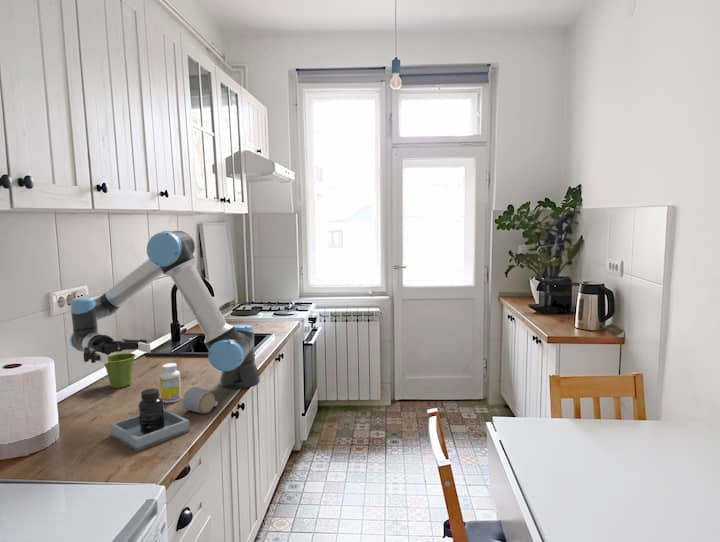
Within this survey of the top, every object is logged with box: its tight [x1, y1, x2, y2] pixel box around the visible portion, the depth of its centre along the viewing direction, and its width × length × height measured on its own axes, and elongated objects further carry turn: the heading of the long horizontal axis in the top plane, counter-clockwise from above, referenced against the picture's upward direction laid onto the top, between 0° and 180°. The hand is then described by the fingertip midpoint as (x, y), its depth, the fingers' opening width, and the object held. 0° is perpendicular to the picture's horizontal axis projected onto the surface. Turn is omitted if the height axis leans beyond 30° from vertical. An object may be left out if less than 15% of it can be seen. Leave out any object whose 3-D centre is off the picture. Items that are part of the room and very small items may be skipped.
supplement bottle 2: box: [159, 362, 182, 404], centre depth 166 cm, size 7×7×13 cm
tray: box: [109, 408, 191, 452], centre depth 140 cm, size 16×16×4 cm
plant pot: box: [103, 352, 137, 389], centre depth 182 cm, size 12×12×11 cm
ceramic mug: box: [182, 386, 219, 414], centre depth 158 cm, size 11×8×8 cm
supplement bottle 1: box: [138, 387, 165, 434], centre depth 140 cm, size 7×7×12 cm
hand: (128, 353), depth 149 cm, fingers open, 13 cm apart
